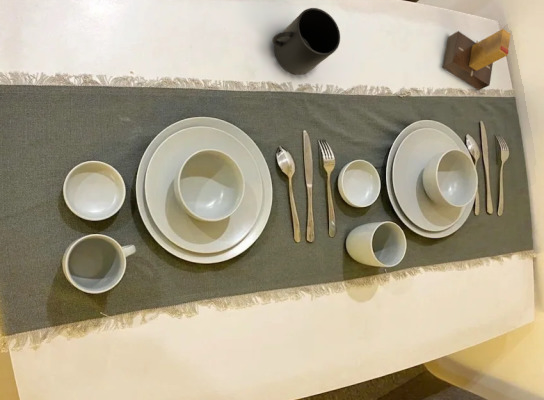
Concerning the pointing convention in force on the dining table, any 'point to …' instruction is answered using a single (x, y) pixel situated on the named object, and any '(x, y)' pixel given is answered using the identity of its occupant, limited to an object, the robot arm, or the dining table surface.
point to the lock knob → (490, 49)
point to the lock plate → (465, 62)
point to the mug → (307, 41)
